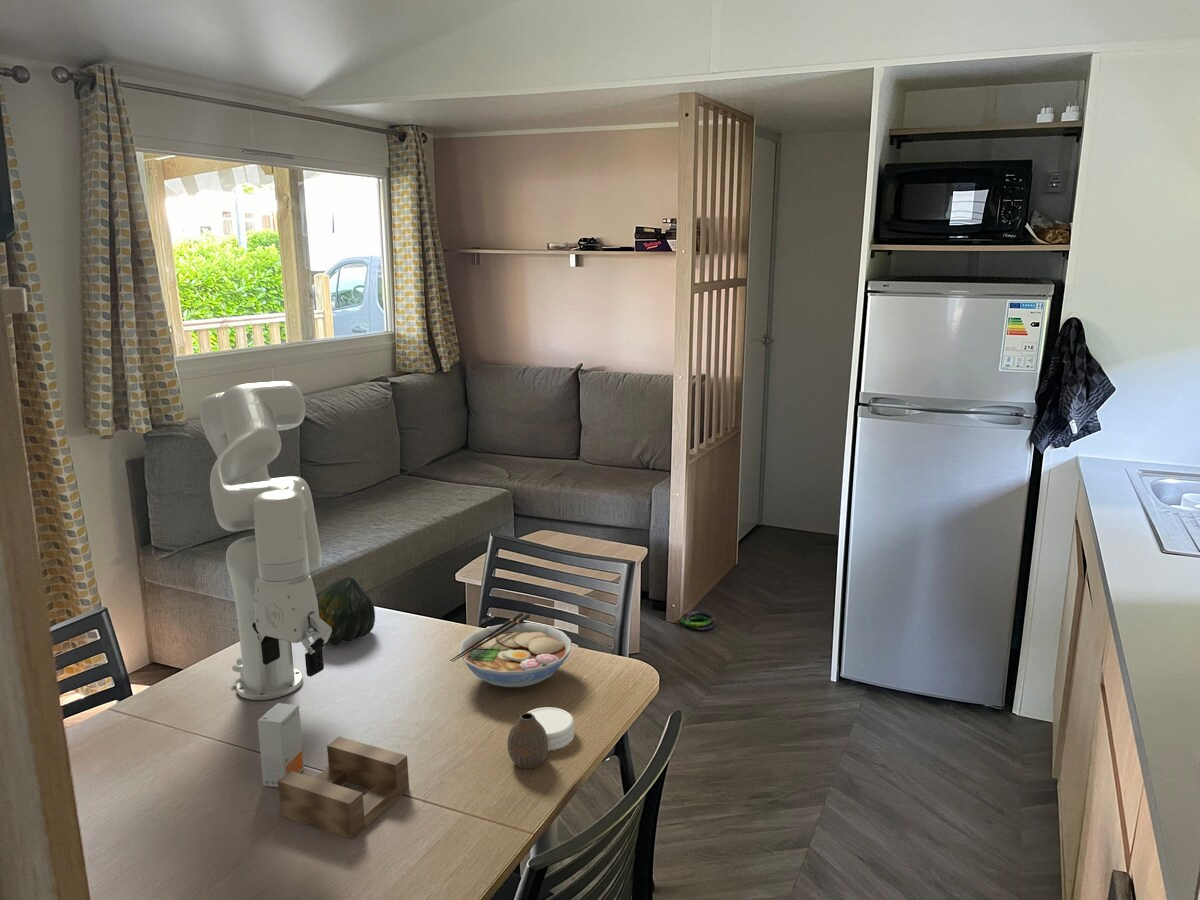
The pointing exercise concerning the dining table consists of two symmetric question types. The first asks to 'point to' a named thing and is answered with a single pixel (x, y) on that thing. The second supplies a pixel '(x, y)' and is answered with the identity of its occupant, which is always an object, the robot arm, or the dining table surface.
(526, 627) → the ramen bowl
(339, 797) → the socket
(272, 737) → the skincare box
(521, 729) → the vase
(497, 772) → the dining table surface
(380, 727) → the dining table surface
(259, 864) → the dining table surface
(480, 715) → the dining table surface
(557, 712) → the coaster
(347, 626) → the squash
